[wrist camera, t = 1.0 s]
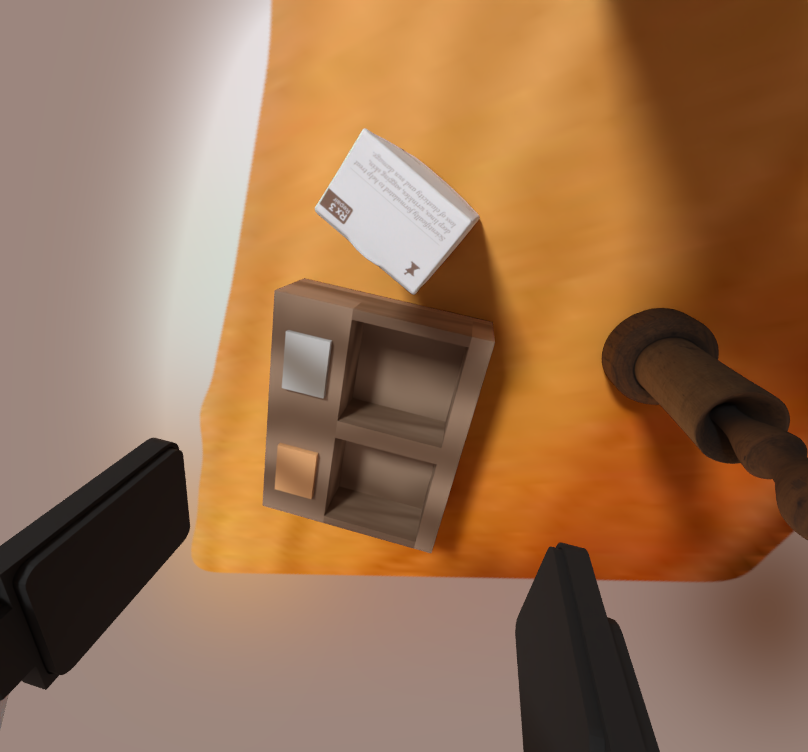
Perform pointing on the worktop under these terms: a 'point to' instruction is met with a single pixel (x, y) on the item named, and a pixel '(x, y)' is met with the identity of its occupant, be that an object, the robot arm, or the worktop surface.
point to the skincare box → (395, 210)
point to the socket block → (369, 409)
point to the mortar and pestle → (710, 401)
